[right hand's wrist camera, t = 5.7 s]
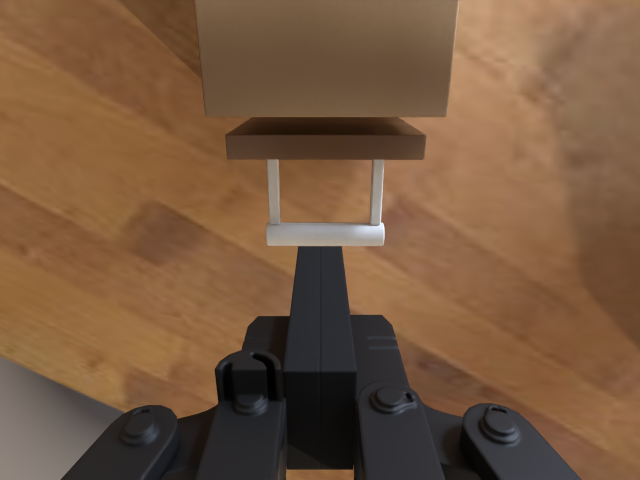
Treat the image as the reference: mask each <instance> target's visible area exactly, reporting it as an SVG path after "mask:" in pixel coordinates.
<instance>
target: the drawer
mask: <svg viewBox="0 0 640 480" xmlns="http://www.w3.org/2000/svg"><path fill="white" fill-rule="evenodd" d="M225 137H226V150H227V159H267V177H268V198H269V219H270V223H267V225H266V243H267V245H268V246H383V244H384V225H383V223H381V208H382V191H383V173H384V160H424V157H425V146H426V135H425V134H424V133H422V132H421V131H419V130H417V129H416V128H414V127H413V126H411V125H409V124H408V123H406V122H405V121H403V120H401V119H400V118H398V117H252V118H251V119H249V120H248V121H246V122H245V123H243V124H242V125H240V126H238V127H237V128H235V129H234V130H232V131H231V132H229V133H228V134H226V135H225ZM279 160H372V176H371V198H370V220H369V221H370V223H280V222H281V212H280V185H279Z"/></svg>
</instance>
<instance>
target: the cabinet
mask: <svg viewBox="0 0 640 480" xmlns="http://www.w3.org/2000/svg"><path fill="white" fill-rule="evenodd" d="M194 4H195V14H196V25H197V35H198V45H199V55H200V66H201V76H202V86H203V97H204V107H205V115H206V116H207V117H446V116H447V111H448V102H449V92H450V83H451V74H452V64H453V55H454V46H455V36H456V27H457V18H458V9H459V0H194Z"/></svg>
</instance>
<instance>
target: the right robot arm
mask: <svg viewBox="0 0 640 480" xmlns="http://www.w3.org/2000/svg"><path fill="white" fill-rule="evenodd" d="M215 376H216V385H217V394H218V404H217V405H216V406H215V407H213V408H211V409H209V410H207V411H205V412H202V413H199V414H195V415H191V416H187V417H183V418H179V419H177V416H176V415H175V414H174V413H173V411H172V410H171V409H169V408H166V407H164V406H161V405H147V406H142V407H138V408H135V409H133V410H131V411H128V412H126V413H124V414H122V415H121V416H120V417H119V418H118V419H116V420H115V421H114V422H113V423H112V424H111V425H110V426H109V427H108V428H107V429H106V430H105V431H104V432H103V434H102V435H101V436H100V437H99V438H98V439H97V440H96V441H95V442H94V443H93V445H92V446H91V447H90V448H89V449H88V450H87V451H86V452H85V453H84V455H83V456H82V457H81V458H80V459H79V460H78V461H77V462H76V463H75V465H74V466H73V467H72V468H71V469H70V470H69V471H68V472H67V473H66V474H65V476H64V477H63V478H62V479H61V480H286V467H287V469H353V465H354V480H581V478H580V477H579V476H578V475H577V474H576V473H575V472H574V471H573V470H572V469H571V467H570V466H569V465H568V464H567V463H566V462H565V461H564V460H563V459H562V458H561V456H560V455H559V454H558V453H557V452H556V451H555V450H554V449H553V448H552V447H551V445H550V444H549V443H548V442H547V441H546V440H545V439H544V438H543V437H542V436H541V434H540V433H539V432H538V431H537V430H536V429H535V428H534V427H533V426H532V425H531V423H530V422H529V421H527V420H526V419H525V418H524V417H523V416H521V415H520V414H519V413H517V412H515V411H513V410H511V409H509V408H507V407H505V406H501V405H497V404H492V403H485V404H477V405H475V406H472V407H470V408H469V409H468V410H467V411H466V412H465V414H464V416H463V417H459V416H455V415H451V414H447V413H443V412H440V411H437V410H434V409H432V408H430V407H428V406H427V405H425V404H423V403H422V401H421V400H420V398H419V396H418V395H417V393H416V392H415V391H414V390H412V389H411V388H410V387H409V383H408V380H407V376H406V373H405V369H404V366H403V362H402V359H401V355H400V352H399V349H398V345H397V341H396V339H395V334H394V330H393V327H392V325H391V324H390V323H389V322H388V321H387V320H386V319H385V318H384V317H383V316H382V315H350V311H349V302H348V294H347V286H346V278H345V270H344V262H343V254H342V246H298V254H297V262H296V270H295V278H294V286H293V294H292V302H291V311H290V316H258V317H257V318H256V319H255V320H254V321H253V322H252V323H251V324H250V325H249V326H248V329H247V332H246V336H245V341H244V343H243V346H242V350H241V351H238V352H235V353H232V354H230V355H228V356H227V357H225V358H224V359H222V360H221V361H220V362H219V364H218V365H217V367H216V368H215Z"/></svg>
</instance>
